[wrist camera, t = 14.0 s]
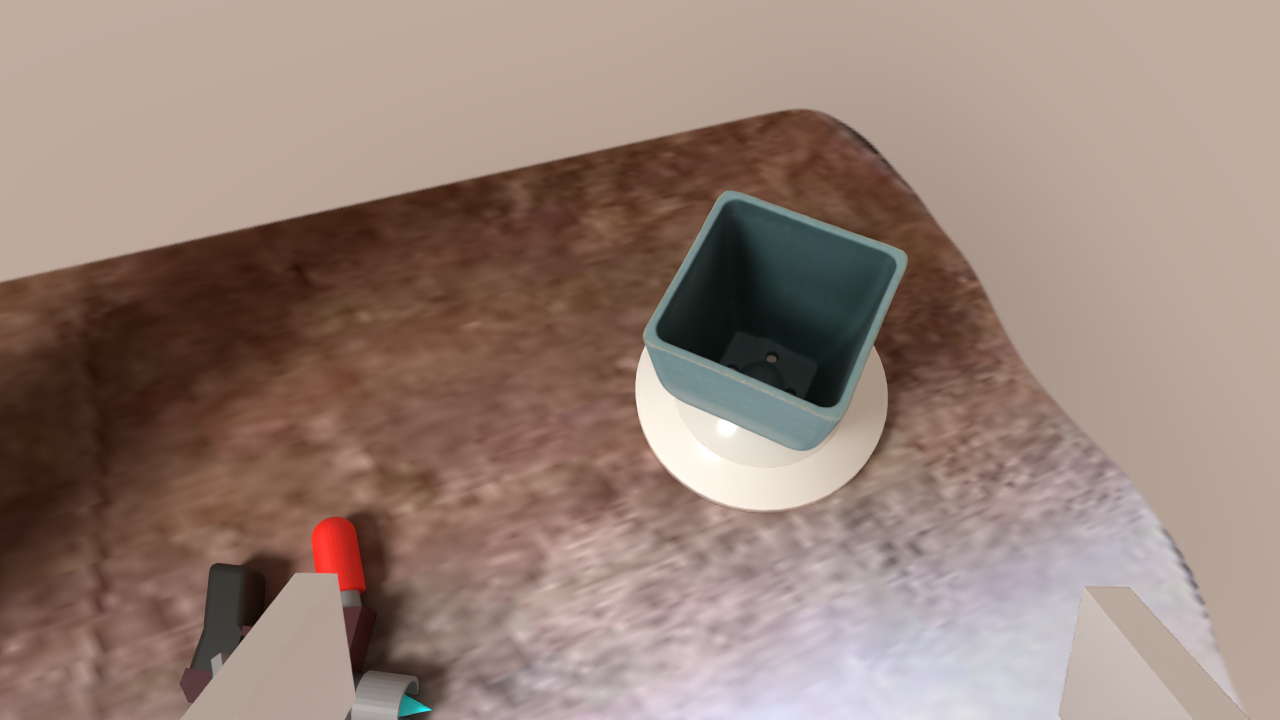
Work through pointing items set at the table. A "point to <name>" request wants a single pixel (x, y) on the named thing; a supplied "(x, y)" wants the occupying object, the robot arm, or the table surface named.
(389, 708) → the toy gun
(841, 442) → the saucer
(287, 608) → the robot arm
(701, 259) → the flower pot
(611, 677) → the table surface
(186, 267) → the table surface
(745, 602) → the table surface
